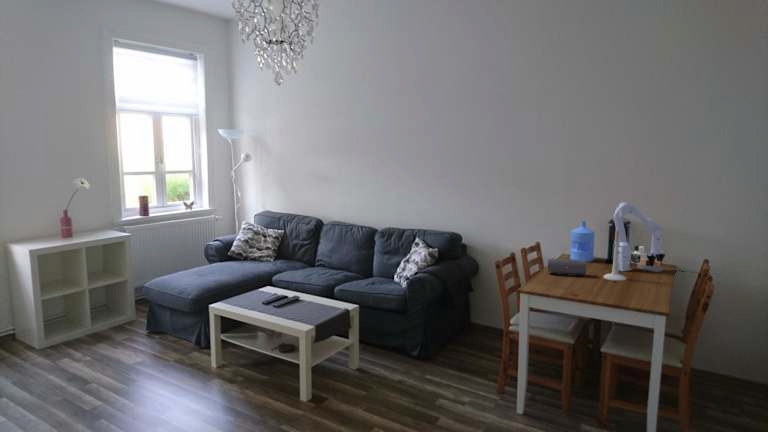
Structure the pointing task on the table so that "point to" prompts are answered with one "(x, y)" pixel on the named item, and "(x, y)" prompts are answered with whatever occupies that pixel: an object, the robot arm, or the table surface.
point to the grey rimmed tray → (648, 266)
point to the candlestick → (615, 263)
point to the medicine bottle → (638, 254)
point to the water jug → (582, 243)
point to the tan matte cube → (657, 264)
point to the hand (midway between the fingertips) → (655, 265)
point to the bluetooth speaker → (567, 266)
